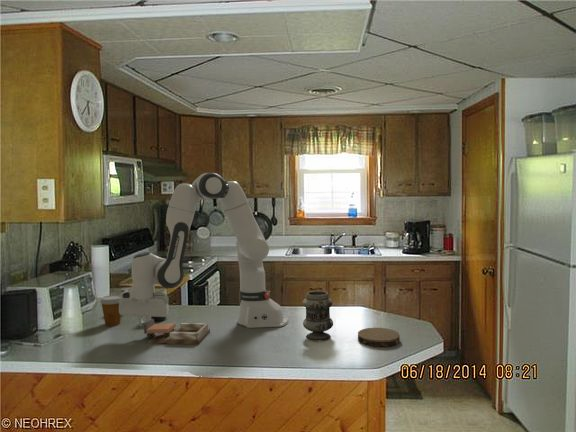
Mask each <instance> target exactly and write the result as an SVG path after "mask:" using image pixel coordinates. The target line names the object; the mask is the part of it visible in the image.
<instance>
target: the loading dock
mask: <svg viewBox="0 0 576 432" xmlns="http://www.w3.org/2000/svg"><path fill="white" fill-rule="evenodd" d="M179 327H180V328H174V331H173V332H170V335H169V336H168V337H164V335H163V334H164V333H156V334H155V336H153V337H151V339H149V340H148V342H146V344H165V343H166V344H168V345H169V344H171V345H197V346H199V345H200V344H201V343H202V342H203V341H204V340H205V339H206V338H207V337H208V335H209V334H210V333H211V329H210V328H209V323H201V322H200V323H193V322H187V323H186V322H181V323H180V326H179Z"/></svg>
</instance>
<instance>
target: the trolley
mask: <svg viewBox="0 0 576 432" xmlns="http://www.w3.org/2000/svg"><path fill="white" fill-rule="evenodd" d="M176 326H177V325H176V323H175V322H171V323H169V322H168V323H156V322H155V321H154V319H150V320H149V322H147V323H146V324H144V327H143V334H146V338H148V339H150V338H153V337H154V335H156V334H159V333H164V334H163V335H164V337H168V336H169V335H170V332H173V331H174V329H176Z"/></svg>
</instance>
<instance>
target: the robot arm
mask: <svg viewBox="0 0 576 432" xmlns="http://www.w3.org/2000/svg"><path fill="white" fill-rule="evenodd" d="M213 199H214V200H215V199H218V201H219V202H220V203H221V206H222V208H223V211H224V214H225V216H226V219H227V221H228V224H229V226H230V229H231V230H232V232H233V234H234V236H235V238H236V243H235V245H236V251H237V253H236V254H237V262H238V270H239V284H240V285H239V287H240V288H239V292H238V294H239V295H238V299H239V300H238V301H239V312H238V318H237V324H239V325H241V326H244V327H245V328H247V329H250V328H277V327H278V328H279V327H284V326H286V325H287V324H288V322H289V318H288V316H286V315H284V312H283V309H282V306H281V305H280V304H279V303H277V302H276V301H274V300H273V299H271V290H267V289H266V270H265V268H264V263H263V260H265V259H266V258H267V256H268V254H269V251H270V248H269V247H270V246H269V244H268V242H267V240H266V239H265V236H264V234H263V232H262V229H261V228H260V226H259V224H258V222H257V221H256V219H255V217H254V213H253V211H252V208H251V206H250V202H249V200H248V198H247V196H246V194H245V191H244V189H243V188H242V186H241V185H240V183H239V182H237V181H236V180H235V181H234V180H230V181H226V179H224V178H223V177H222V176H221V175H220V174H218V173H215V172H204V173H202V174H200V175H198V176H197V177H196V178H194V179H193V180H192V181H191V182H190V183H186V182H185V183H179V184H177V185H176V186H175V188H174V191H173V192H172V194H171V197H170V200H169V203H168V207H167V210H166V215H165V217H166V218H165V224H166V226H167V228H168V231H169V234H170V241H169V245H168V251H167V255H166V258H165V257H160V256H158V255H155V254H154V253H153V252H151V251H145V252H144V251H143V252H139V253H137V254H135V255H134V256H133V258H132V261H131V278H132V284H131V287H132V289H129V290H127V291H124V292H122V291H121V293H120V294H119V295H120V297H121V298H122V299H121V300H120V301H119V314H120V315H121V317H122V316H127V317H129V316H131V317H136V318H137V320H138V322H139V323H140V324H139V325H140V327H141V328H144V324H146V323H147V322H149V321H150V320H151V316H155V317H165V316H166V317H167V316H168V315H169V314H170V308H169V307H170V306H169V302H170V301H169V295H167V294H166V293H164V292H156V289H155V288H156V283H159V285H161V287H164V288H165V289H174V288H177V287H179V285H181V284H182V282H183V280H184V275H185V272H184V267H183V265H184V264H183V262H184V257H185V252H186V247H187V244H188V243H187V242H188V239H189V238H188V236H189V233H190V230H191V228H192V227H191V226H192V224H193V221H194V218H195V217H194V216H195V213H196V209H197V206H198V203H199V202H200V201H201V200H213ZM143 317H145V319H146V321H144V320H143Z"/></svg>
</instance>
